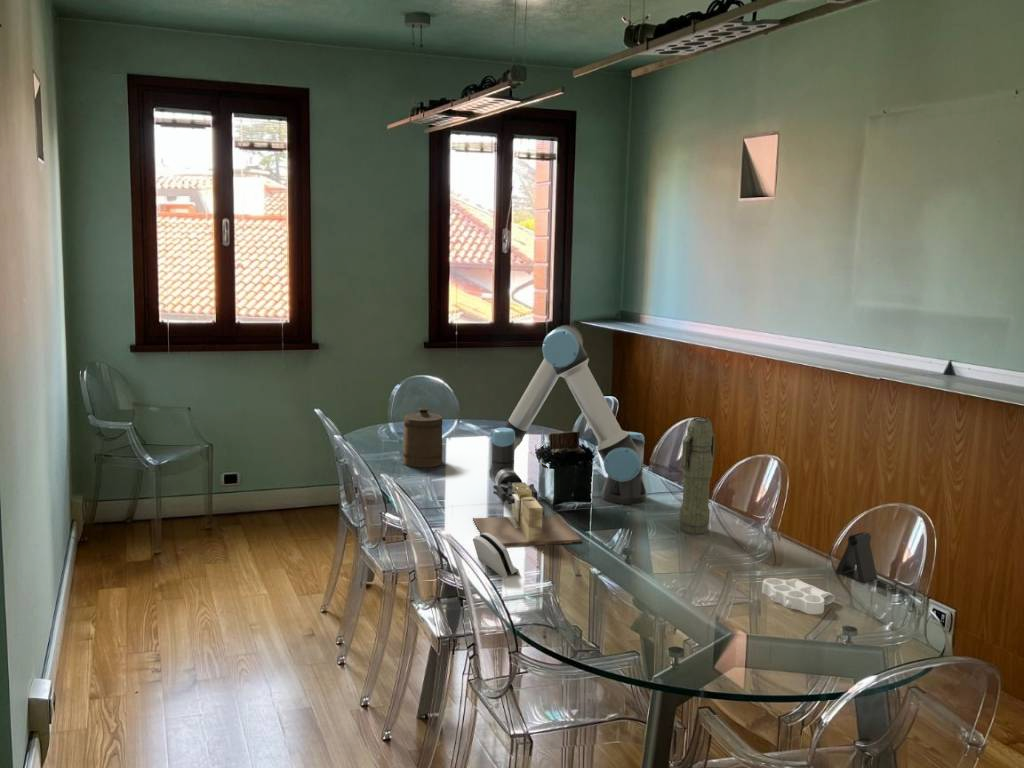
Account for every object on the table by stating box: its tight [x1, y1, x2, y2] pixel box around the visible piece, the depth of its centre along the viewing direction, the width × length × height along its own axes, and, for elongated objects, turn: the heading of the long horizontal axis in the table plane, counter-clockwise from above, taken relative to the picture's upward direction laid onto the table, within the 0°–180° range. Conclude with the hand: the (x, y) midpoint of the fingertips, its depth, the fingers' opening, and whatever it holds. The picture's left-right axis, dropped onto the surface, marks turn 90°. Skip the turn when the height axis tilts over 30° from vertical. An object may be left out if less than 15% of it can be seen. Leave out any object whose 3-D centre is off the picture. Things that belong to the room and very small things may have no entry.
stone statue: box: [679, 417, 716, 536], centre depth 296 cm, size 9×12×35 cm
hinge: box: [472, 533, 521, 579], centre depth 263 cm, size 17×5×10 cm, turn 27°
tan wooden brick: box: [511, 481, 532, 523], centre depth 298 cm, size 4×9×10 cm, turn 13°
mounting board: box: [472, 497, 582, 548], centre depth 292 cm, size 28×24×11 cm
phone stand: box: [835, 531, 878, 584], centre depth 263 cm, size 9×6×12 cm, turn 36°
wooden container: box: [402, 405, 443, 469], centre depth 369 cm, size 15×15×22 cm
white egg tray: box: [761, 577, 836, 615], centre depth 246 cm, size 3×18×15 cm
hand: (525, 504), depth 293 cm, fingers closed on tan wooden brick, 4 cm apart
